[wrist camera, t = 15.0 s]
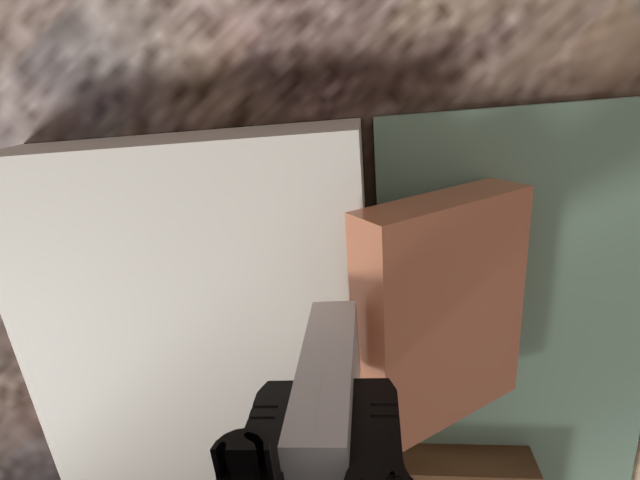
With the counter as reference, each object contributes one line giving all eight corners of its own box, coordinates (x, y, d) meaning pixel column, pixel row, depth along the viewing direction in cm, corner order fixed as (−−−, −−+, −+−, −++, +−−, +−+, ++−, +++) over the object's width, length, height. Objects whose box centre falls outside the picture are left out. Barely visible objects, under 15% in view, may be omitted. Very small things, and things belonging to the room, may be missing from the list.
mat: (603, 598, 27) (607, 605, 26) (394, 588, 28) (394, 595, 28) (697, 91, 17) (705, 91, 17) (373, 116, 19) (372, 117, 18)
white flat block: (385, 587, 28) (388, 667, 24) (153, 577, 30) (122, 649, 26) (360, 117, 19) (358, 129, 15) (22, 144, 20) (-55, 160, 17)
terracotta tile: (479, 366, 22) (515, 388, 20) (356, 427, 18) (387, 460, 17) (490, 177, 18) (534, 185, 17) (344, 212, 15) (381, 226, 14)
